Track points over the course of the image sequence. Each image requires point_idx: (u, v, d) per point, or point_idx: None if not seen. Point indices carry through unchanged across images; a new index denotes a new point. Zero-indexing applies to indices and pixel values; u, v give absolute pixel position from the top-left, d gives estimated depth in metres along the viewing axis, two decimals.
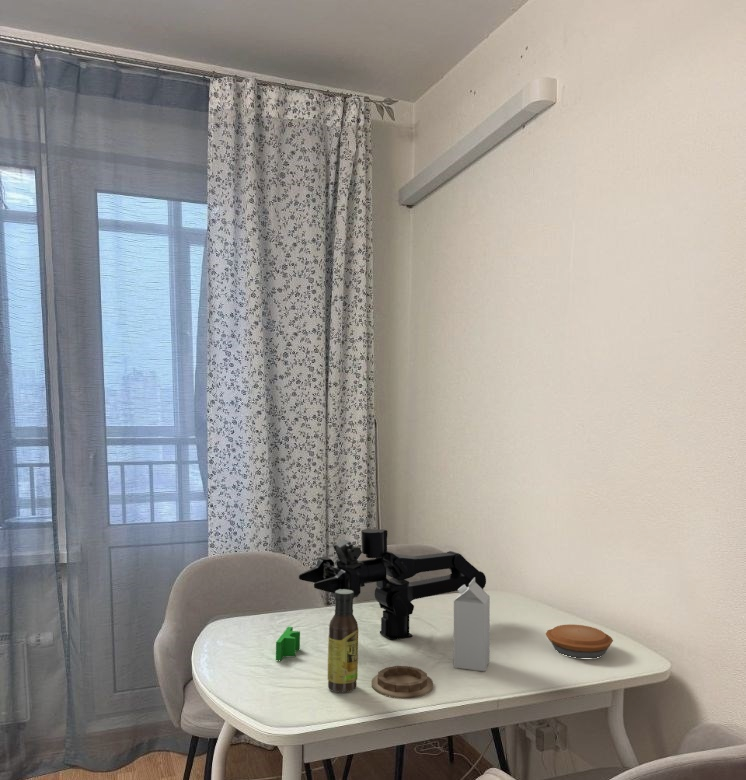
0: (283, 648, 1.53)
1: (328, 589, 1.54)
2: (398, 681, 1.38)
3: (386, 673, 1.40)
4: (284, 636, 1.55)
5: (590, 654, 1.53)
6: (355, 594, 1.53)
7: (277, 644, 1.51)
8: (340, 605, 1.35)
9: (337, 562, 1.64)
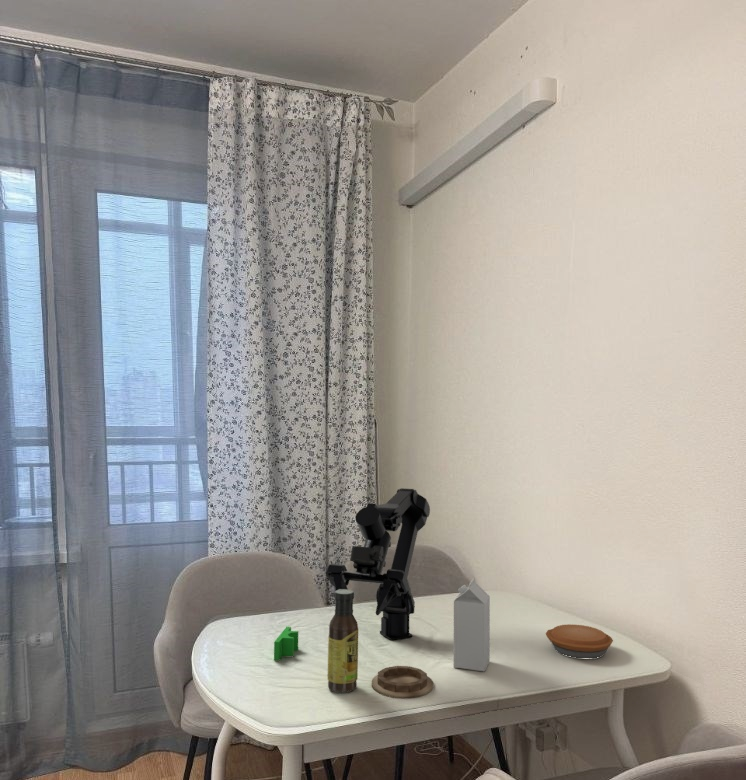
0: (281, 648, 1.53)
1: (386, 603, 1.45)
2: (398, 681, 1.38)
3: (386, 673, 1.40)
4: (282, 635, 1.55)
5: (591, 654, 1.53)
6: (407, 587, 1.48)
7: (275, 644, 1.51)
8: (340, 605, 1.35)
9: (355, 566, 1.49)
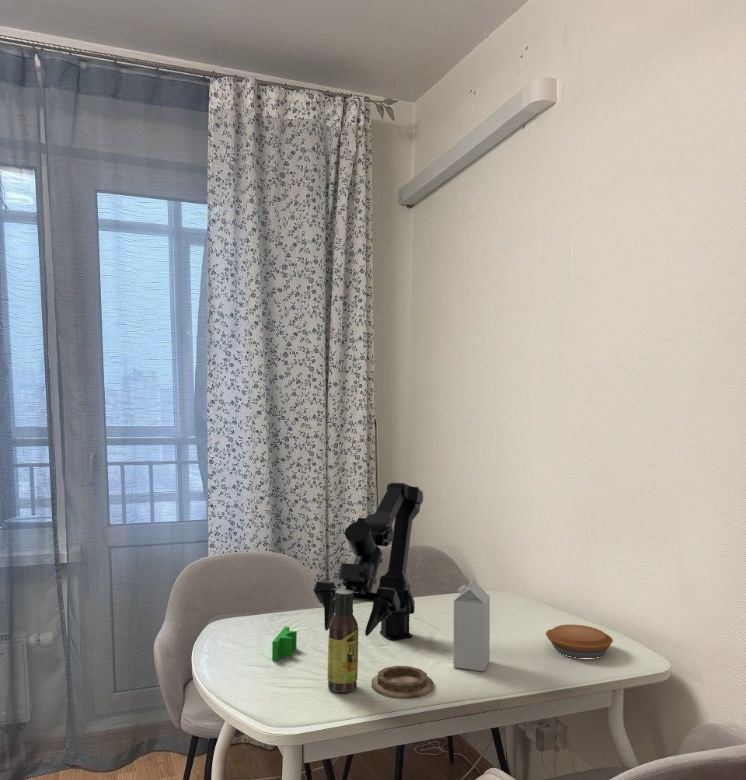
0: (279, 648, 1.53)
1: (376, 623, 1.39)
2: (398, 681, 1.38)
3: (386, 673, 1.40)
4: (281, 635, 1.55)
5: (591, 654, 1.53)
6: (399, 606, 1.42)
7: (273, 644, 1.51)
8: (340, 605, 1.35)
9: (345, 584, 1.43)
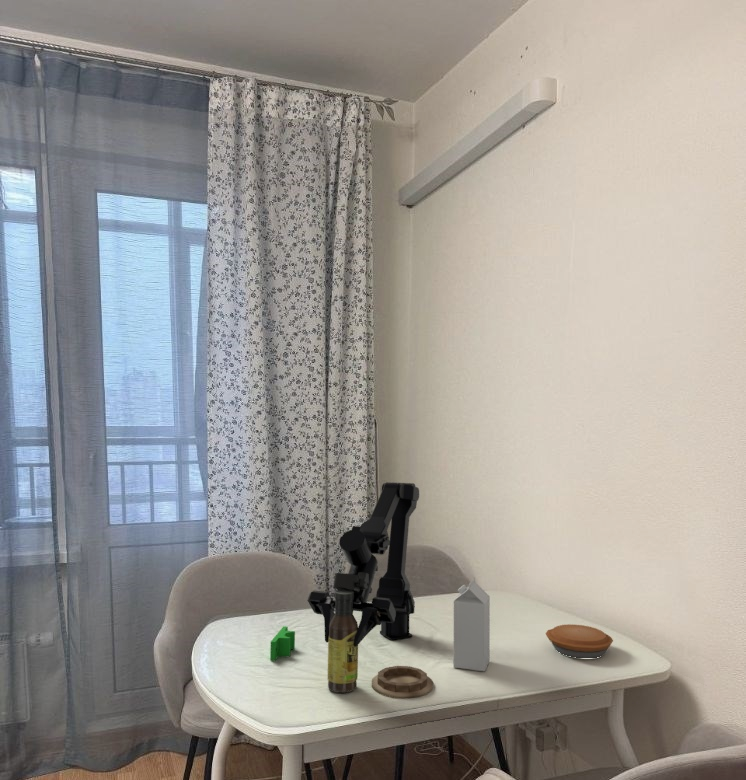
0: (278, 648, 1.53)
1: (365, 633, 1.36)
2: (398, 681, 1.38)
3: (386, 673, 1.40)
4: (279, 635, 1.55)
5: (591, 654, 1.53)
6: (394, 616, 1.39)
7: (271, 644, 1.51)
8: (340, 605, 1.35)
9: None
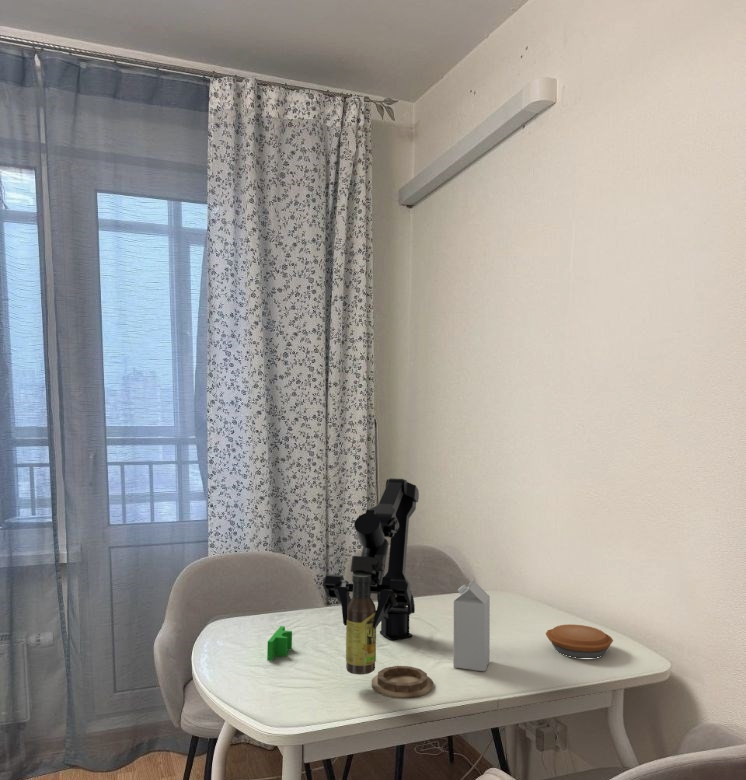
0: (275, 647, 1.53)
1: (383, 615, 1.37)
2: (398, 681, 1.38)
3: (386, 673, 1.40)
4: (276, 635, 1.55)
5: (591, 654, 1.53)
6: (410, 597, 1.40)
7: (268, 644, 1.51)
8: (359, 588, 1.36)
9: None
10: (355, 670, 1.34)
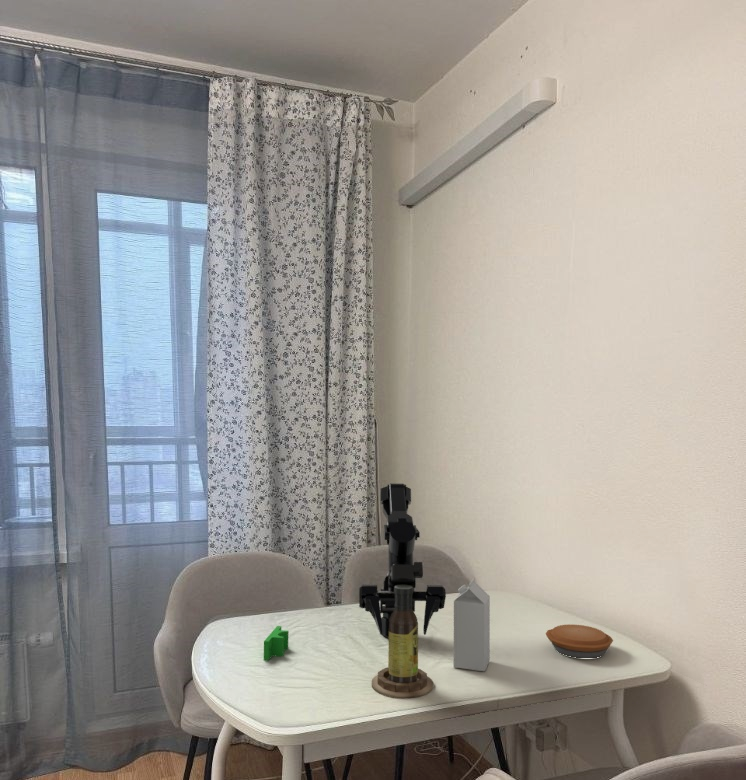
0: (271, 647, 1.54)
1: (428, 621, 1.40)
2: None
3: (386, 673, 1.40)
4: (272, 635, 1.55)
5: (591, 654, 1.53)
6: None
7: (265, 643, 1.51)
8: (403, 600, 1.37)
9: (391, 585, 1.42)
10: (402, 682, 1.35)
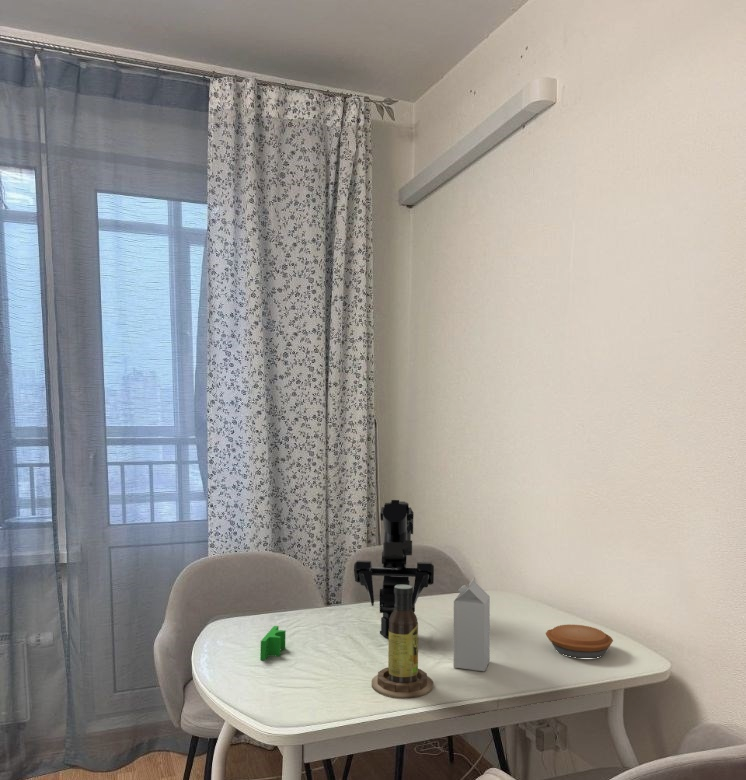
0: (268, 647, 1.54)
1: (417, 595, 1.51)
2: None
3: (386, 673, 1.40)
4: (269, 635, 1.56)
5: (591, 654, 1.53)
6: None
7: (261, 643, 1.51)
8: (403, 600, 1.37)
9: (384, 561, 1.54)
10: (402, 682, 1.35)
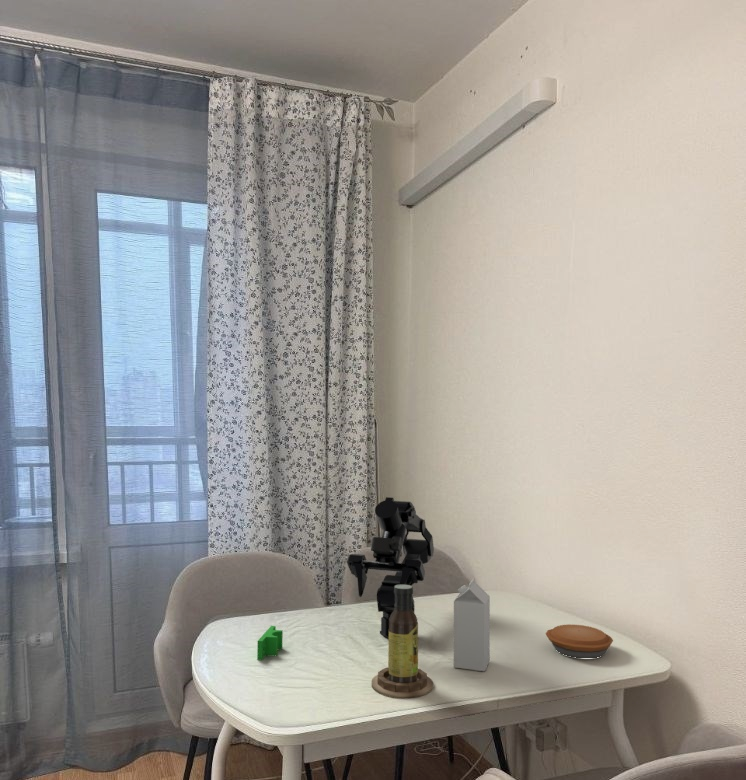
0: (265, 647, 1.54)
1: None
2: None
3: (386, 673, 1.40)
4: (266, 635, 1.56)
5: (591, 654, 1.53)
6: None
7: (258, 643, 1.51)
8: (403, 600, 1.37)
9: (375, 556, 1.60)
10: (402, 682, 1.35)
